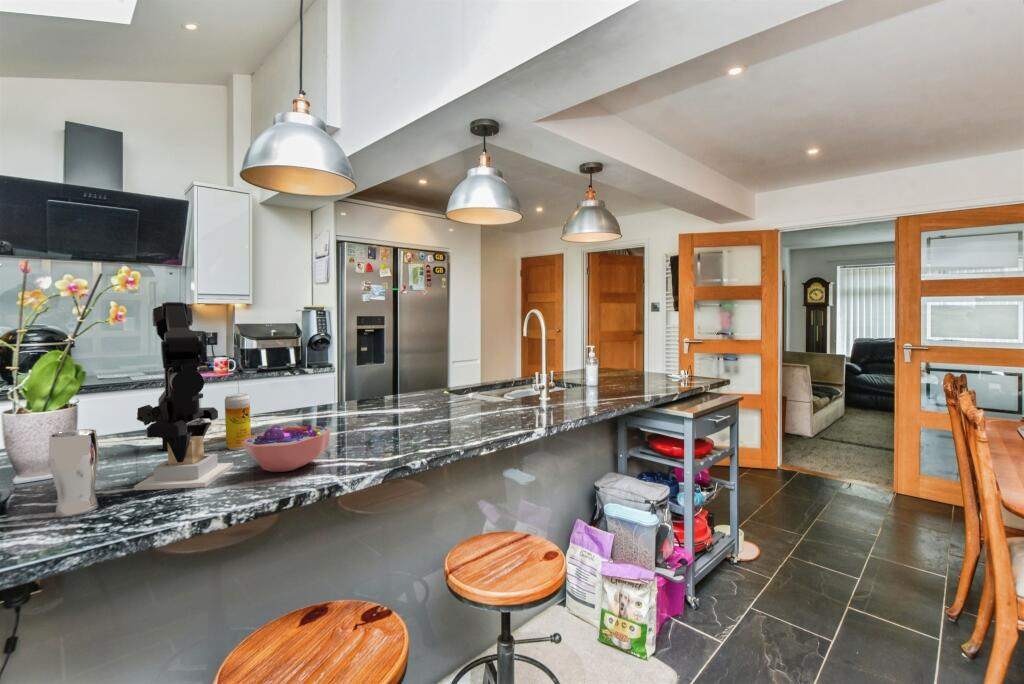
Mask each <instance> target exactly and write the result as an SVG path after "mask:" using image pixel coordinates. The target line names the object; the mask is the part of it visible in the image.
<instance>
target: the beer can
mask: <svg viewBox="0 0 1024 684" xmlns="http://www.w3.org/2000/svg"><path fill="white" fill-rule="evenodd" d="M250 401H251V398H250V397H249V393H246V392H245V393H232V394H227V395H226V396H225V398H224V416H225V418H224V419H225V421H224V422H225V446H226V447H227V449H228V450H229V451H240V450H244V449H245V447H244V446H243V444H242V441H243V440H245V439H246V438H248V437H251V436H252V432H251V431H252V430H251V428H252V427H251V402H250ZM245 450H246V449H245Z"/></svg>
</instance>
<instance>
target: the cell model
mask: <svg viewBox="0 0 1024 684" xmlns="http://www.w3.org/2000/svg"><path fill="white" fill-rule="evenodd" d="M330 436H331V430H330V429H329V428H326V427H322V426H321V425H320V426H319V425H317V426H312V424H308V425H307V426H298V427H297V426H296V427H295V426H294V427H293V426H292V427H290V426H289V427H281V426H280V424H273V425H271V426H270V427H268V428H267V429H266V430H265V431H263V432H260V433H257V434H254V435H251V437H248V438H246V439H245V440H243V441H242V444H243V446H244V447H245V450H246V452H247V453H248V455H249V456H250V457H251V458H252V459H253V460H254V461H255V462H256V464H258V465H259V466H260V467H261V468H262V469H263V470H265V471H266V472H267V471H268V472H272V473H273V472H274V473H283V472H284V473H285V472H290V471H294V470H296V469H298V468H301V467H303V466H305V465H307V464H309V463H310V462H312V461H315V459H317V458H318V457H320V456H321V455H322V454H323V453H324V452H325V451H326V450H327V448H328V447H329V444H330Z"/></svg>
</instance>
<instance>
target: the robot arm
mask: <svg viewBox="0 0 1024 684" xmlns="http://www.w3.org/2000/svg"><path fill="white" fill-rule="evenodd" d="M193 323H194V319H193V309H192V308H191V307H189V306H187V303H184V302H183V301H182V302H180V301H175V302H174V301H166V302H162V303H161V305H159V306H157V307H155V308H153V309H152V326H153V327H155V330H156V334H157V336H158V337H159V338H160V340H161V341H160V352H161V361H162V363H161V364H162V367H163V370H164V373H163V374H164V390H163V392H162V393H161V395H160V396H159V397H158V401H157V403H158V405H157V406H154V407H153V406H151V405H150V404H146V405H144V406H141V407H138V408H137V413H136V414H137V417H136V420H137V421H139V422H142V424H144V426H147V425H148V426H147V427H146V429H145V430H146V437H147V438H148V439H149V438H152V439H153V438H159V439H161V442H162V445H161V446H159V447H156V451H168V444H169V445H170V447H171V449H172V452H173V454H174V456H175V458H176V460H177V462H183V461H184V458H185V455H186V452H187V448H188V445H189V442H190V438H191V436H203V439H205V436H206V433H207V432H208V431H209V428H210V426H211V425H212V421H215V420H217V419H219V411H218V409H216V408H215V407H214V406H213V407H200V403H201V402H200V399H203V398H204V392H203V393H201V392H202V390H203V388H204V385H205V379H204V377H203V376H202V374H201V373H200V372H199V370H198V367H205V366H206V363H207V362H208V353H207V349H206V344H204V341H203V340H202V339H200V337H199V335H198V333H197V331H194V330H192V329H190V327H192V326H193ZM206 419H207V420H208V419H209V420H210V421H211V422H210V421H207V422H206Z"/></svg>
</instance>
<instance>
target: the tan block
mask: <svg viewBox="0 0 1024 684" xmlns="http://www.w3.org/2000/svg"><path fill="white" fill-rule="evenodd" d="M204 455H205V450H204V438H203V436H191V438H190V442H189V445H188V448H187V452H186V455H185V458H184V461H183V462H177V460H176V458H175V456H174V454H173V452H172V449H171V447H170V445H169V444H168V450H167V460H168V465H191V464H196V463H198V462H200V461H201V460H203V459H204Z"/></svg>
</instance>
